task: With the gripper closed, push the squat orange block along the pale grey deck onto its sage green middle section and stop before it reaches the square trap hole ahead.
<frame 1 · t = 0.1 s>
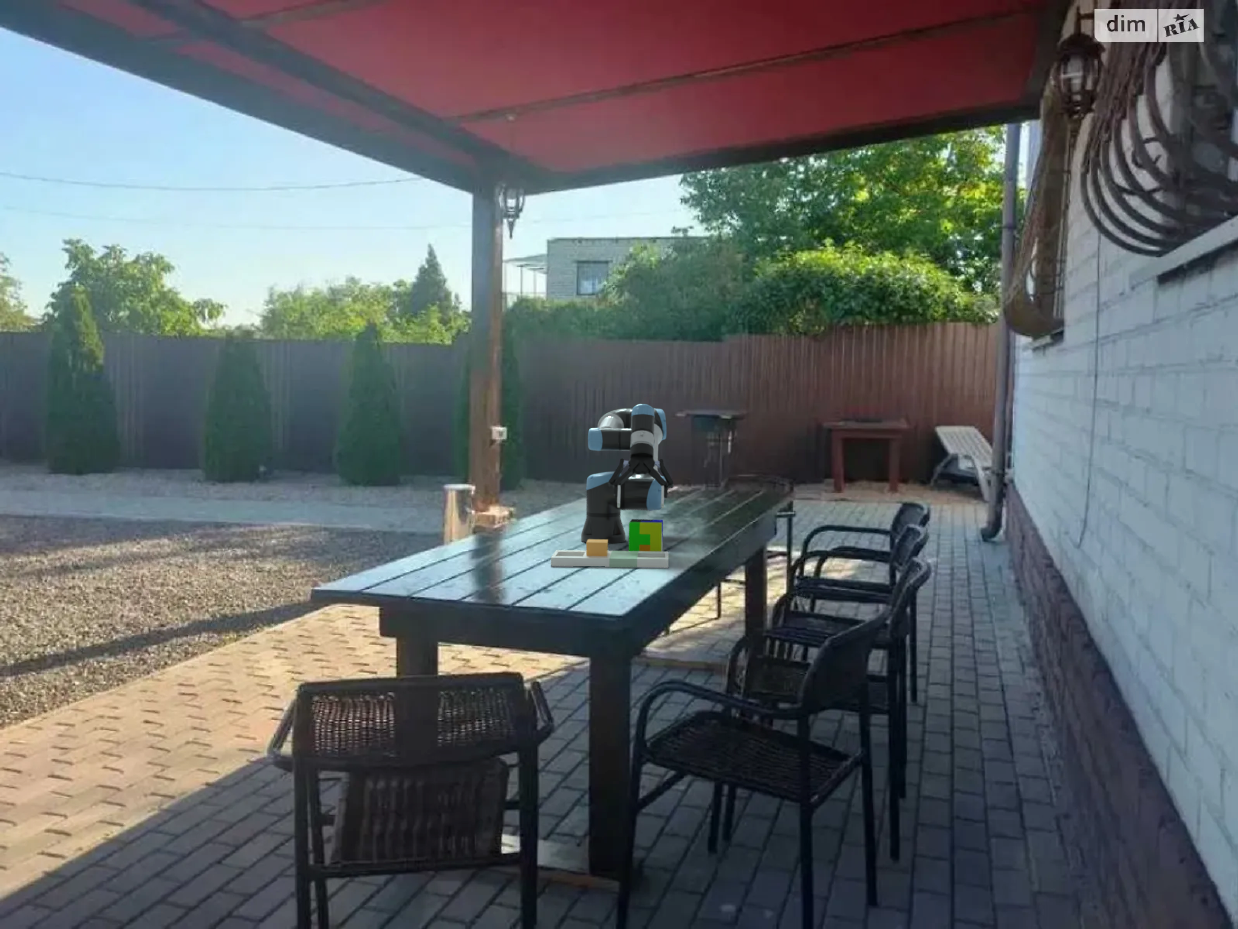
hand: (640, 505, 312), 15 cm above the table, tool tilted 35°, fingers open, 13 cm apart
orange block: (597, 554, 298), point 2 cm above the table, touching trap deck
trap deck: (610, 562, 298), on the table
puzzle toy: (645, 553, 318), on the table
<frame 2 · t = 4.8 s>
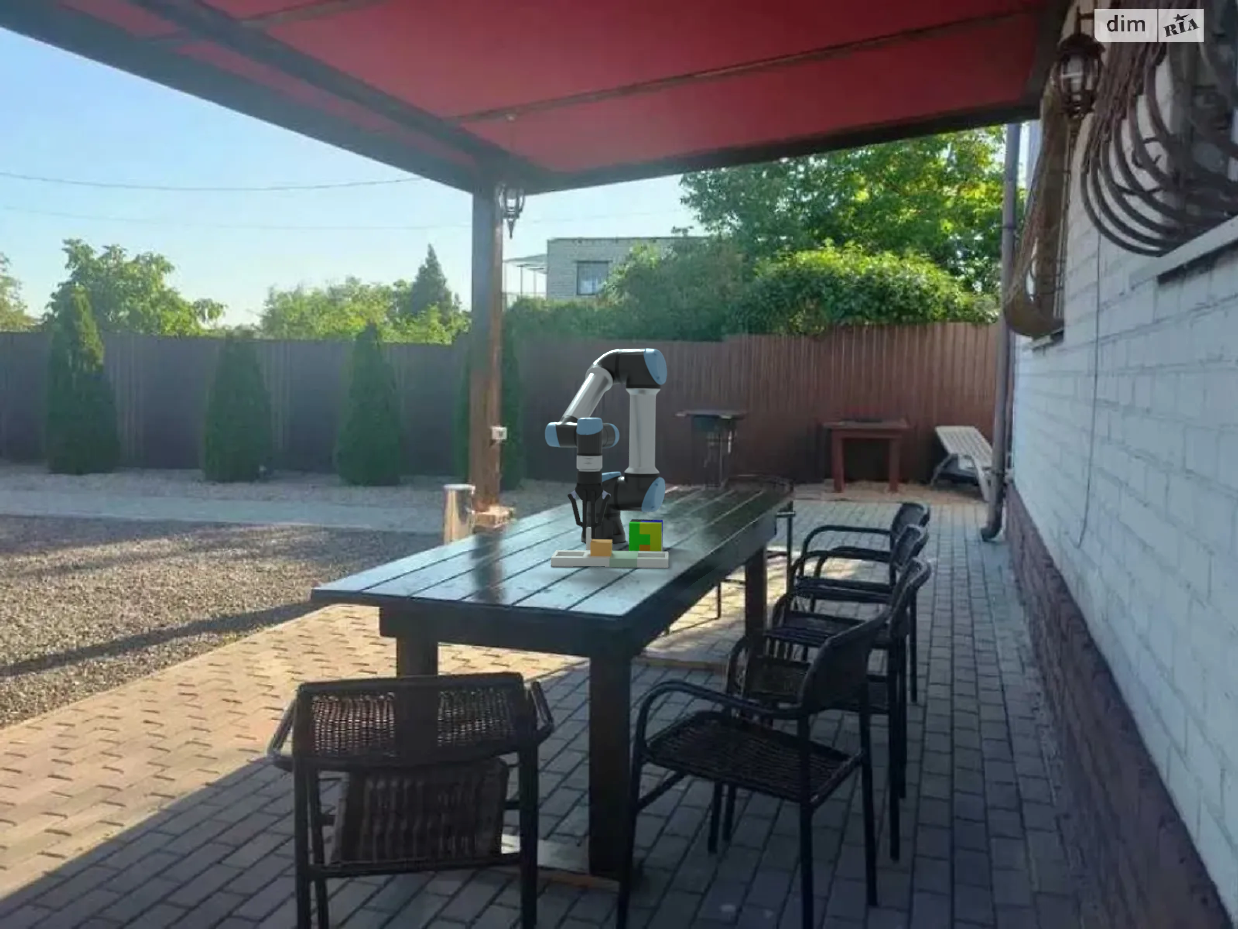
hand: (588, 549, 298), 4 cm above the table, tool pointing down, fingers closed
orange block: (601, 554, 298), point 3 cm above the table, touching gripper
everything else where it was.
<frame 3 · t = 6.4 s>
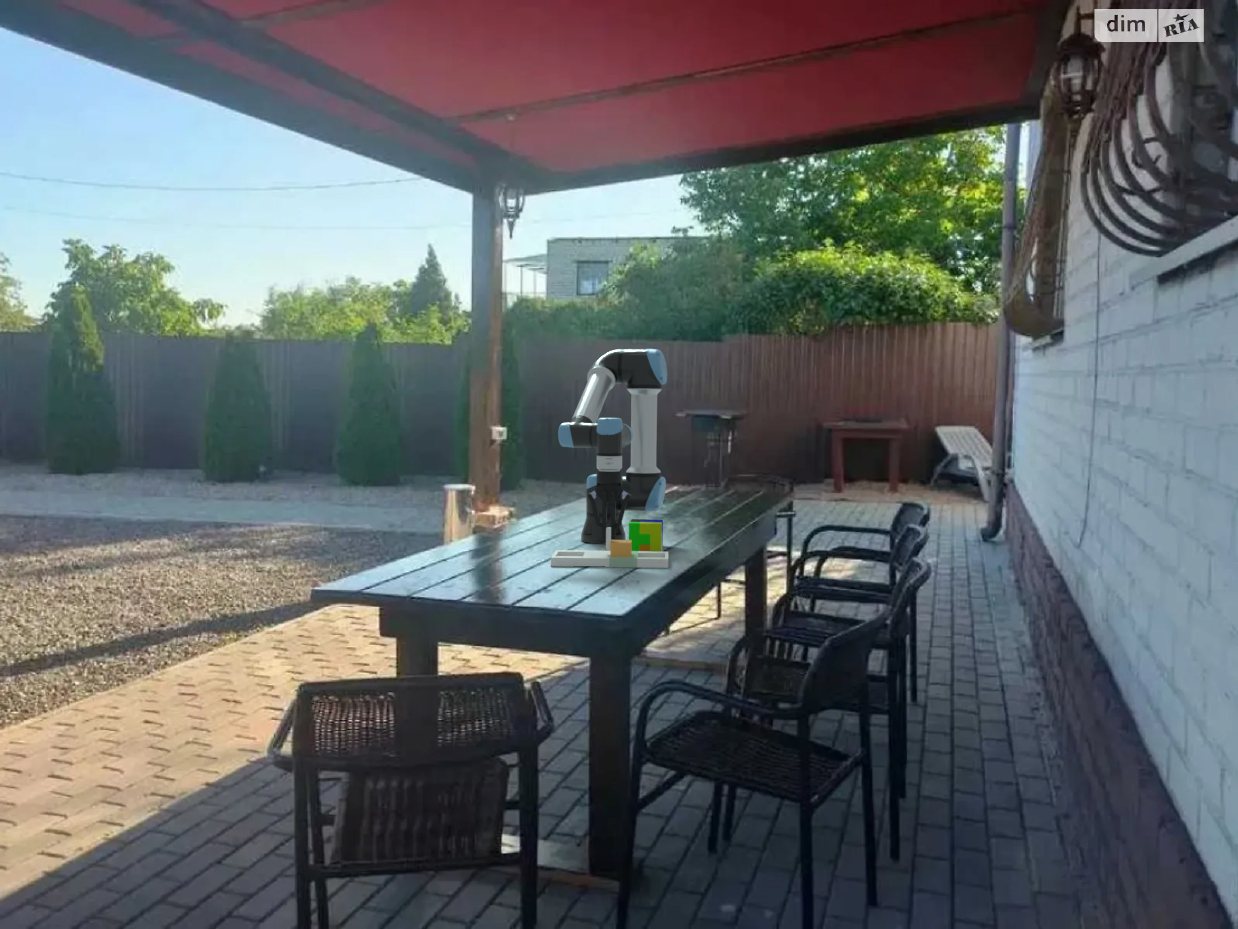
hand: (608, 549, 298), 4 cm above the table, tool pointing down, fingers closed
orange block: (621, 554, 298), point 2 cm above the table, touching gripper, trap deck
everything else where it was.
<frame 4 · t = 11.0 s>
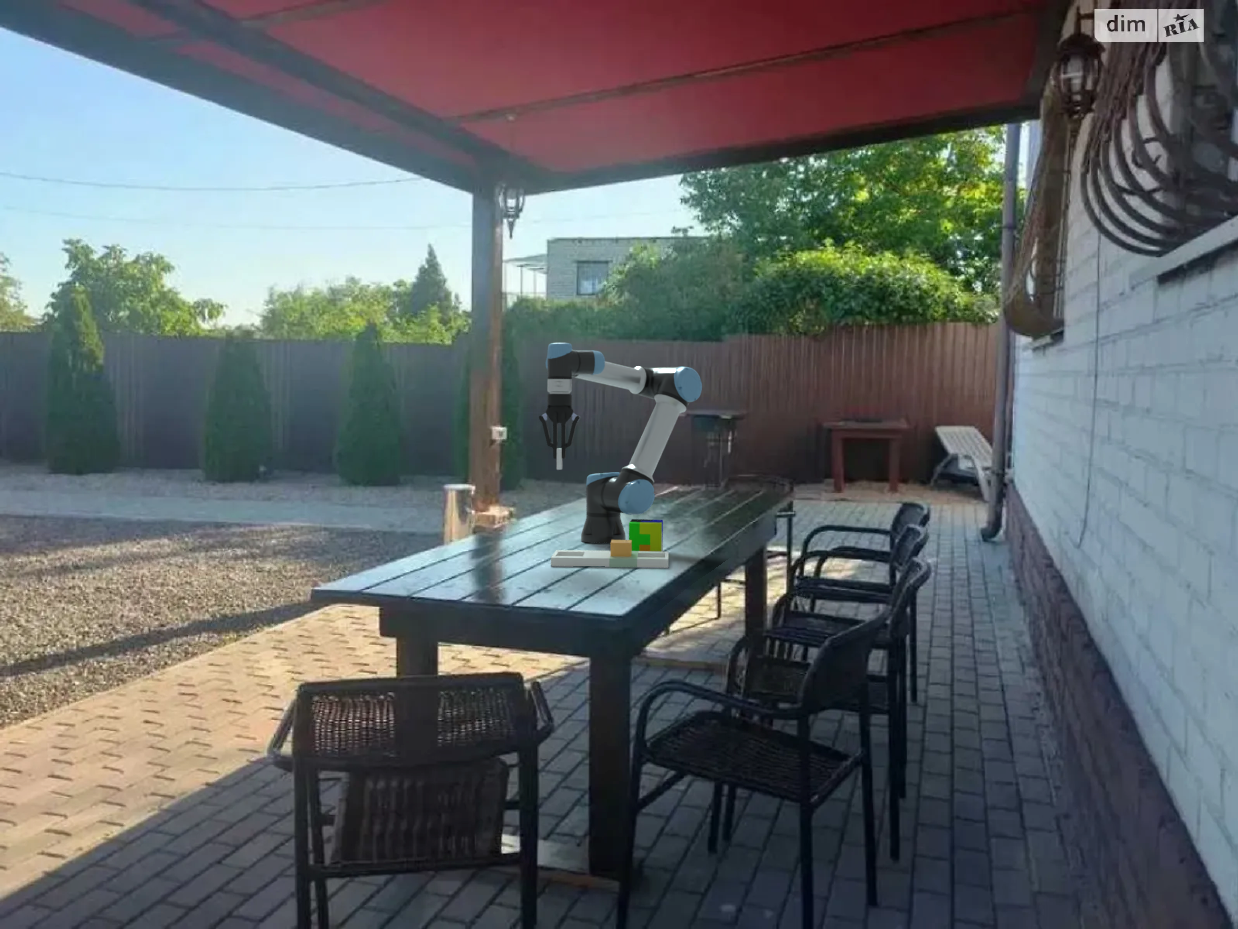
hand: (559, 469, 313), 26 cm above the table, tool pointing down, fingers closed
orange block: (621, 554, 298), point 2 cm above the table, touching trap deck
everything else where it was.
at the end: orange block inside the target area (0.9 cm from its centre), point 2.5 cm above the table; orange block tilted 0° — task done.
